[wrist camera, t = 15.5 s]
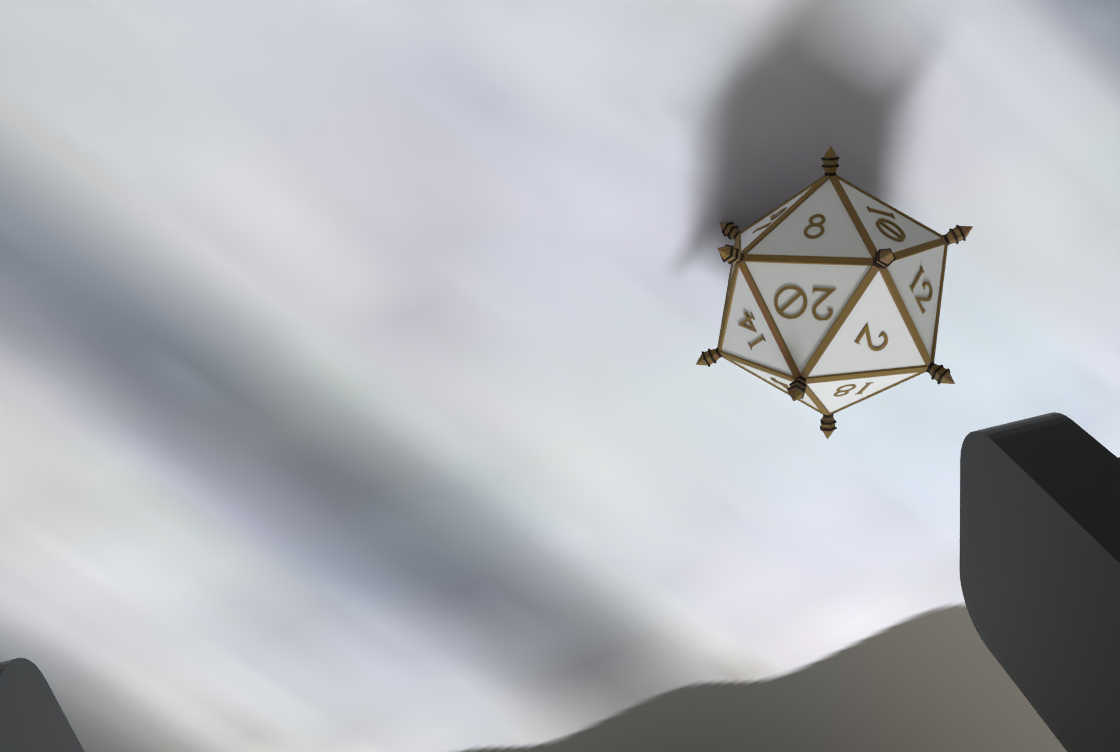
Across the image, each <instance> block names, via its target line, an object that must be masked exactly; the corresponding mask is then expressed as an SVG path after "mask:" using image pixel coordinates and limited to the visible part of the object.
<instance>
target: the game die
mask: <svg viewBox="0 0 1120 752" xmlns="http://www.w3.org/2000/svg"><path fill="white" fill-rule="evenodd" d="M838 159H839V157H837V156H836V154H835V152H834V150H833V148H832V146H830V148H829V149H828V151H827V153H826V154H825V156H824V157H823V158H821V160H823V165H822V167H824V170H825V175H824V176H823V177H821V178H820V179H818V180H817V181H815V182H814V183H812V184H811V185H810V186H808V187H807V188H805V189H804V190H802V191H801V192H799V193H798V194H796V195H795V196H793V197H792V198H790V199H789V200H787V201H786V202H784V203H783V204H781V205H780V206H778V207H777V208H775V209H774V210H772V211H771V212H769V213H768V214H766V215H765V216H763V217H762V218H760V219H759V220H758V221H756V222H755V223H753V224H752V225H750V226H749V227H747V228H746V229H744V230H743V231H741V232H740V230H739V229H738V227H739V226H735V225H734V223H733V222H731V223H720V226H721V228H722V233H723V235H724V236H725V237H726V236H728V238H729V239H730V240H731V239H735V244H734V246H730V245H725V247H721V248H718V251H719V252H720V255H721V258H722V260H723V262H725V261H727V262H728V263H729V264H731V268H730V274H729V280H728V286H727V293H726V299H725V305H724V311H723V317H722V323H721V329H720V335H719V341H718V347H717V348H716V349H713V350H710V349H708V351H706V352H702V355H701V356H700V358H699V360H698V362H697V363H696V364H697V365H708V366H709V367H710V364H712V363H716V361H717V360H718V359H719V358H720V357H723V358H725V359H727V360H728V361H730V362H732V363H734V364H735V365H737V366H739V367H741V368H742V369H744V370H746V371H748V372H749V373H751V374H753V375H755V376H756V377H758V378H760V379H762V380H763V381H765V382H767V383H769V384H770V385H772V386H774V387H776V388H778V389H779V390H781V391H783V392H785V393H786V394H788V395H790V396H791V398H792V399H793V401H795V400H799V401H800V402H802V403H804V404H806V405H807V406H809V407H811V408H813V409H814V410H816V411H818V412H820V413H821V414H823V418H822V419H821V420H820V421H821V424H822V425H821V426H820V429H821V431H823V433H824V434H825V436H826V437H827V439H828V438H829V436H830V435H831V434H832V432H833V431H834V430H835V429H837V427H835V423H836V421H835V420H834V417H833V414H834V413H836V412H838V411H840V410H843V409H845V408H847V407H849V406H851V405H854V404H856V403H858V402H860V401H863V400H865V399H867V398H869V397H871V396H874V395H876V394H878V393H880V392H882V391H885V390H887V389H889V388H891V387H893V386H896V385H898V384H900V383H902V382H904V381H907V380H909V379H911V378H913V377H915V376H918V375H920V374H922V373H924V372H928V373H929V374H930V375H931V376H932V378H931V379H932V380H933V379H935V380H936V381H938V383H937V384H940V383H949V384H955V383H954V381H953V379H952V377H951V375H950V370H949V369H945V368H944V367H943V365H936V364H934V357H935V349H936V341H937V332H938V324H939V315H940V307H941V298H942V290H943V281H944V273H945V264H946V256H947V247H948V245H949V244H952V243H956V244H958V242H959V241H961V240H964V241H965V240H966V239H965V238H966V237H967V235H968V234H969V232H970V230H971V229H972V226H958V225H956V227H955V228H954V229H949V230H950V231H949V232H948V233H947V234H946V235H941V234H939V233H937V232H936V231H934V230H932V229H930V228H928V227H927V226H925V225H923V224H921V223H920V222H918V221H916V220H914V219H913V218H911V217H909V216H907V215H906V214H904V213H902V212H900V211H899V210H897V209H895V208H893V207H891V206H890V205H888V204H886V203H884V202H883V201H881V200H879V199H877V198H876V197H874V196H872V195H870V194H869V193H867V192H865V191H863V190H862V189H860V188H858V187H856V186H854V185H853V184H851V183H849V182H847V181H846V180H844V179H842V178H840V177H839V176H837V175H836V173H835V172H836V169H837V167H839V165H838V164H837V162H838Z"/></svg>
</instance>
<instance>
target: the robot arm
mask: <svg viewBox="0 0 1120 752" xmlns="http://www.w3.org/2000/svg"><path fill="white" fill-rule="evenodd" d="M960 580H961V587H962V592H963V596H964V599H965V603H966V606H967V609H968V612H969V615H970V617H971V619H972V622H973V624H974V626H975V628H976V630H977V632H978V633H979V635H980V637H981V639H982V640H983V642H984V643H985V645H986V646H987V647H988V649H989V650H990V651H991V653H992V654H993V655H994V656H995V658H996V659H997V660H998V662H999V663H1000V664H1001V666H1002V667H1003V668H1004V669H1005V671H1006V672H1007V674H1008V675H1009V676H1010V677H1011V679H1012V680H1013V681H1014V683H1015V684H1016V685H1017V686H1018V688H1019V689H1020V690H1021V692H1022V693H1023V694H1024V696H1025V697H1026V698H1027V700H1028V701H1029V702H1030V703H1031V705H1032V706H1033V707H1034V709H1035V710H1036V711H1037V713H1038V714H1039V715H1040V717H1041V718H1042V719H1043V721H1044V722H1045V723H1046V724H1047V726H1048V727H1049V728H1050V730H1051V731H1052V732H1053V733H1054V735H1055V736H1056V738H1057V739H1058V740H1059V741H1060V743H1061V744H1062V745H1063V747H1064V748H1065V749H1066V751H1067V752H1120V457H1119V458H1117V457H1116V456H1115V455H1114V454H1112V453H1111V452H1110V451H1109V450H1108V449H1106V448H1105V447H1104V446H1103V445H1101V444H1100V443H1099V442H1098V441H1097V440H1095V439H1094V438H1093V437H1092V436H1091V435H1089V434H1088V433H1087V432H1086V431H1085V430H1083V429H1082V428H1081V427H1080V426H1079V425H1077V424H1076V423H1075V422H1074V421H1073V420H1071V419H1070V418H1068V417H1067V416H1065V415H1063V414H1060V413H1055V412H1053V413H1049V414H1044V415H1040V416H1036V417H1032V418H1028V419H1024V420H1019V421H1015V422H1011V423H1007V424H1003V425H999V426H994V427H990V428H986V429H982V430H978V431H974V432H971V433H969V434H968V435H967V436H966V437H965V439H964V441H963V444H962V449H961V458H960ZM0 752H84V750H83V748H82V746H81V744H80V743H79V741H78V739H77V737H76V735H75V733H74V731H73V730H72V728H71V726H70V724H69V722H68V720H67V718H66V717H65V715H64V713H63V711H62V709H61V707H60V705H59V703H58V702H57V700H56V698H55V696H54V694H53V692H52V690H51V689H50V687H49V685H48V683H47V681H46V679H45V678H44V676H43V674H42V673H41V671H40V670H39V669H38V667H37V666H36V665H35V664H34V663H32V662H31V661H29V660H27V659H25V658H17V659H13V660H9V661H5V662H1V663H0Z"/></svg>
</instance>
